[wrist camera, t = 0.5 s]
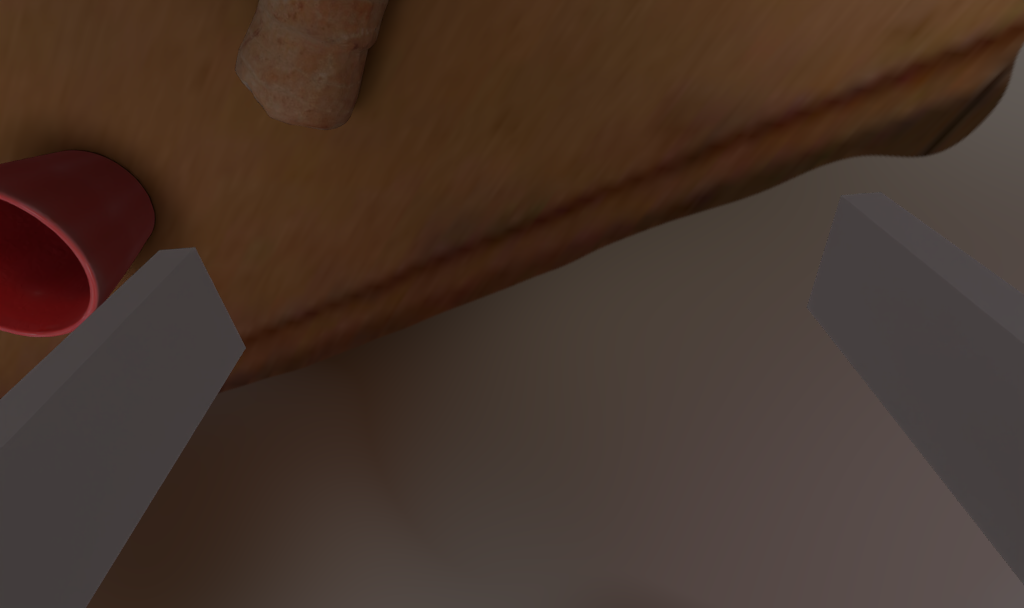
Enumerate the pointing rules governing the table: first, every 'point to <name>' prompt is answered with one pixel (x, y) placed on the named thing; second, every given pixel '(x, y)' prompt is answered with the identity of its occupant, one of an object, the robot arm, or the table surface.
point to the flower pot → (65, 238)
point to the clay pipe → (309, 58)
